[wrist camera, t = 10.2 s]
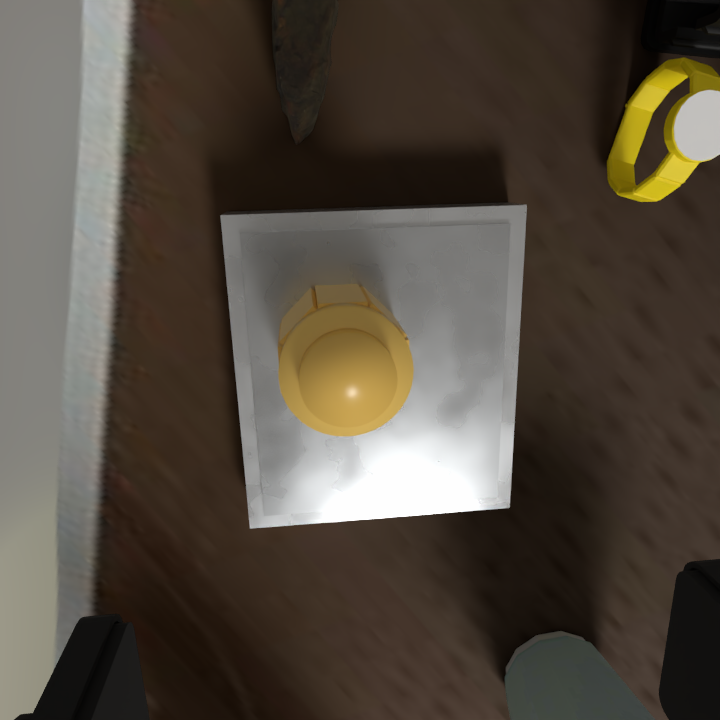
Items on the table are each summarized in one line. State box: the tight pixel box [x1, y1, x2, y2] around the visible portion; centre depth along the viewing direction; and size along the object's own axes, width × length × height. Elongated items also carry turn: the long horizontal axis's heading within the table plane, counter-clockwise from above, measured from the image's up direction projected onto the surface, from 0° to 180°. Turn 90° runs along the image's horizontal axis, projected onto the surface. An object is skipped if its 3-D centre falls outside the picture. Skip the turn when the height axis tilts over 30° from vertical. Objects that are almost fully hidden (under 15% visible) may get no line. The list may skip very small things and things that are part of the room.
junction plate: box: [220, 202, 527, 528], centre depth 29 cm, size 16×14×6 cm
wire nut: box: [278, 284, 414, 436], centre depth 26 cm, size 5×5×6 cm
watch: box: [607, 57, 720, 202], centre depth 27 cm, size 6×3×6 cm, turn 166°
